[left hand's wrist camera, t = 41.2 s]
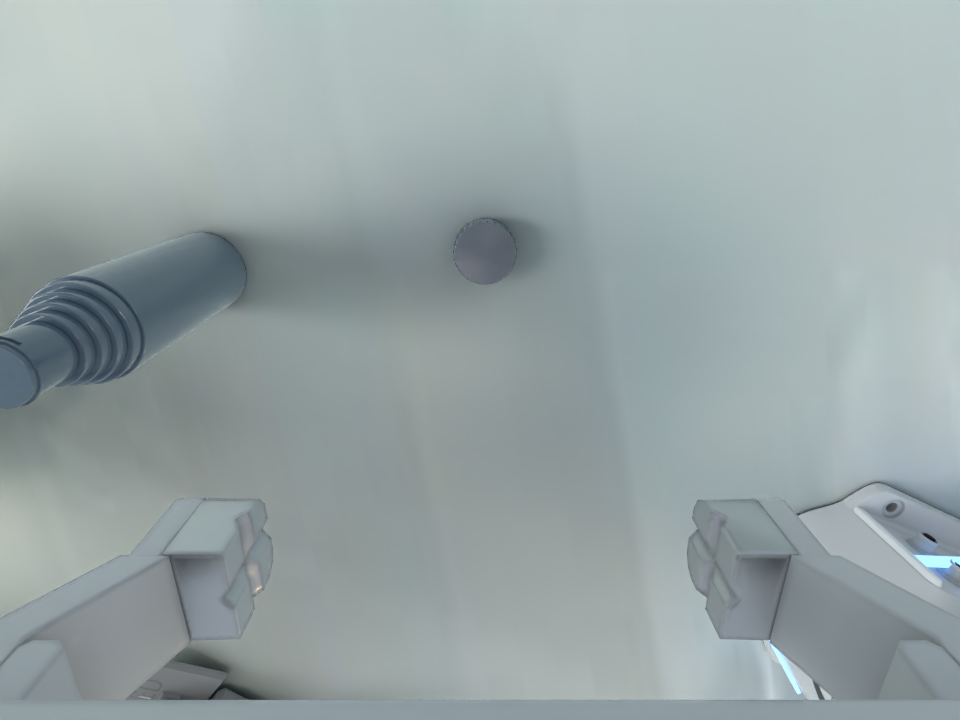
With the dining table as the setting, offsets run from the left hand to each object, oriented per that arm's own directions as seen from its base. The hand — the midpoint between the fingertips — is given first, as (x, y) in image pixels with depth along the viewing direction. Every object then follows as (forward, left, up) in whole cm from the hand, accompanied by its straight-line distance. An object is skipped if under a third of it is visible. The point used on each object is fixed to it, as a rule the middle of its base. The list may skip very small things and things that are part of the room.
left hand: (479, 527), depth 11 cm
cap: (0, 0, -27) cm, 27 cm away
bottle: (+17, +6, -29) cm, 34 cm away
